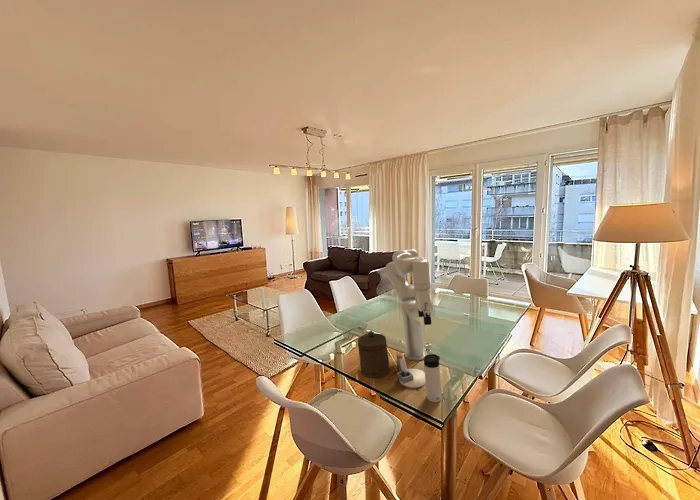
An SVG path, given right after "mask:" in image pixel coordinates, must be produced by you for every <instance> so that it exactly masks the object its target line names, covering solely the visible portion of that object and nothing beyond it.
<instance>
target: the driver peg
mask: <svg viewBox="0 0 700 500" xmlns="http://www.w3.org/2000/svg"><path fill="white" fill-rule="evenodd" d="M396 357H397V360H398V364H399V368H400V372H402V376H403V377H406V376H409V373H408V370H407V369H408V367H407V363H406V359H405V358H406V357H405V356H404V352H401V353H397V354H396Z"/></svg>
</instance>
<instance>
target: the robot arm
mask: <svg viewBox="0 0 700 500" xmlns="http://www.w3.org/2000/svg"><path fill="white" fill-rule="evenodd" d="M391 256H392V258H391V259H392V261H391V262H388V263H387V264H386V265H385V274H386V277H387V279H388V280H389V282H390V283H391V284H392V286H393V287H394V290H395V292H396V294H397V298H398V299H399V301H400V302H401V305H400V311H401V316H402V321H403V327H404V338H405V339H404V340H405V348H406V349H405V351H407V352H405V351H404V352H405V353H404V352H403V353H404V355H405V356H404V358H406V359H407V358H408V360H409V359H410V360H409V361H422V360H424V358H425V356H426V355H428V352H427V350H425V348H424V337H423V327H422V326H423V325H422V323H421V321H420V320H419V319H417V318H423V324H424V326H429V325H430V326H431V325H432V315H433V314H434V312H435V311H434V310H435V308H434V305H433V302H432V300H431V297H430V295H431V294H430V290H431V280H430V264H429V261H428V260H427V259H425V258H424V257H423V256H419V253H418V252H417V250H416V249H414V248H405V249H398V250H396V251H394V252H393V254H392V255H391ZM406 274H412V281H413V285H410V284H409V282H408V280H407V279H406V277H405V278H404V277H403V276H402V275H406Z"/></svg>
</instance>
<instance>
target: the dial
mask: <svg viewBox="0 0 700 500" xmlns="http://www.w3.org/2000/svg"><path fill="white" fill-rule="evenodd" d="M407 370H408V373H409V376H406V377H403V376H402V372H401V371H399V372H398V371H397V372H396V374H397V375H396V376H397V378H398V381H399V383H400V384H401V385H402V386H404V387H405V388H409V389H410V388H411V389H416V388H421V387H423V386H426V381H425V371H423V369H422V370H421V369H419V368H407Z"/></svg>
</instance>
